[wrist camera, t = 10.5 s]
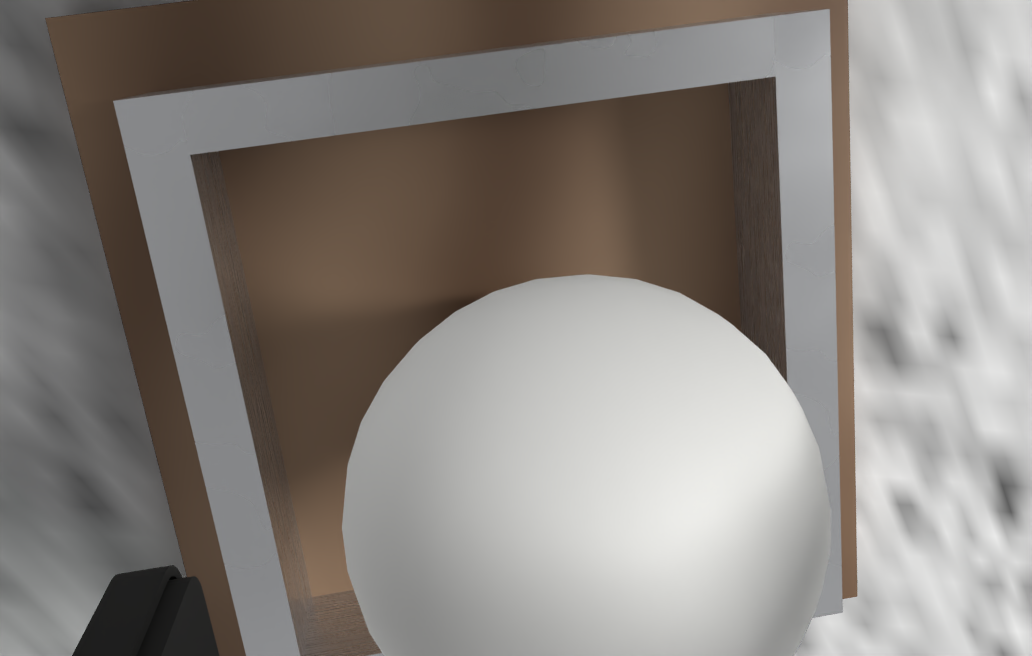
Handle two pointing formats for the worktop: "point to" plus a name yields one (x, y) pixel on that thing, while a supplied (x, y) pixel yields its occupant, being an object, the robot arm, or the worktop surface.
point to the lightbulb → (586, 484)
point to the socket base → (414, 218)
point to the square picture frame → (447, 96)
